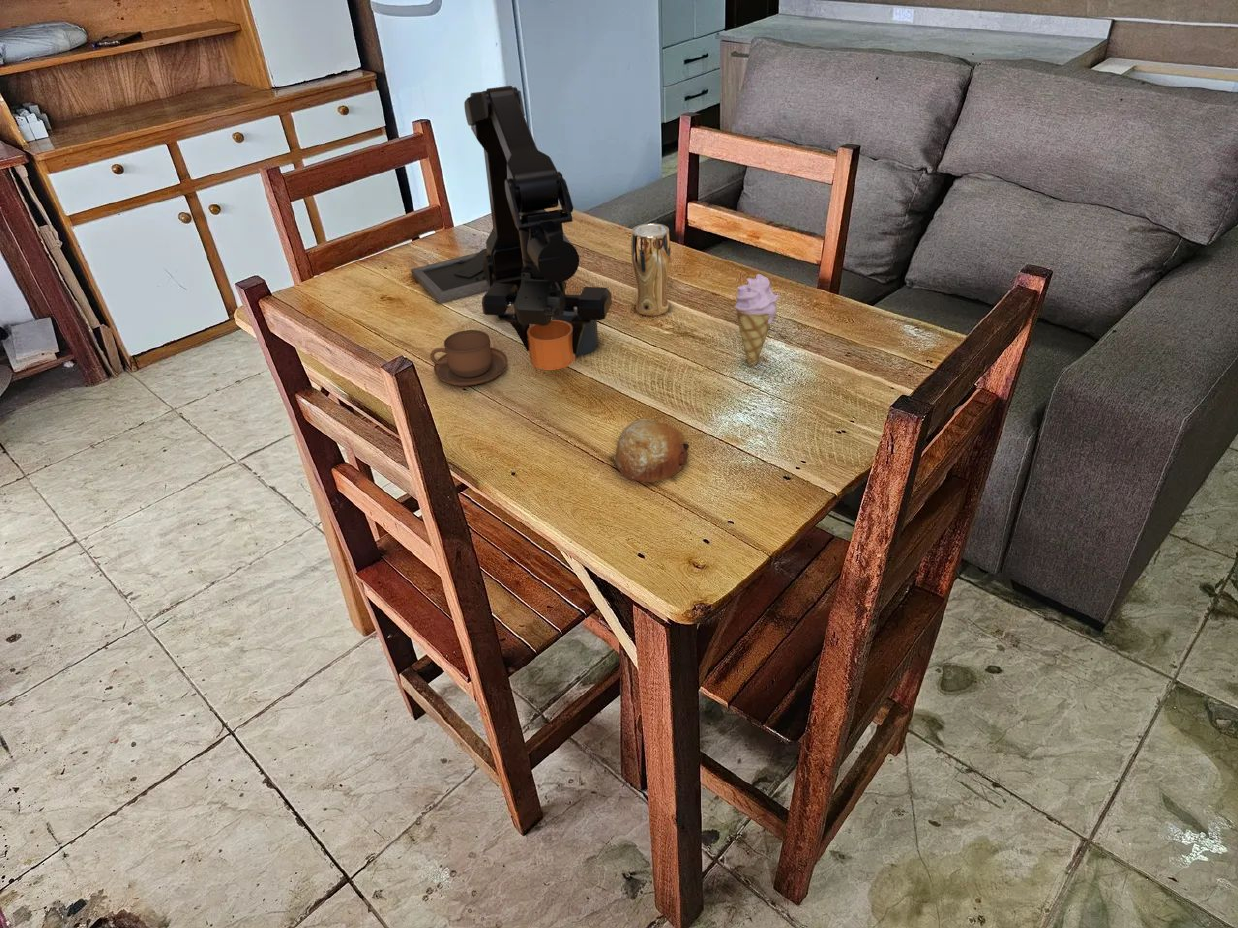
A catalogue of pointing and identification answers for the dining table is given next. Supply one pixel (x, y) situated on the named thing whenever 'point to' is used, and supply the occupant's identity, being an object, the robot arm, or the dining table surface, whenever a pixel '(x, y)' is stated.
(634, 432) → the bread roll
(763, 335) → the ice cream cone
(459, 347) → the cup and saucer
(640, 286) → the beer glass
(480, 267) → the picture frame
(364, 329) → the dining table surface
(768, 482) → the dining table surface
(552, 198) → the robot arm
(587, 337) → the jar
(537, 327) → the cup
